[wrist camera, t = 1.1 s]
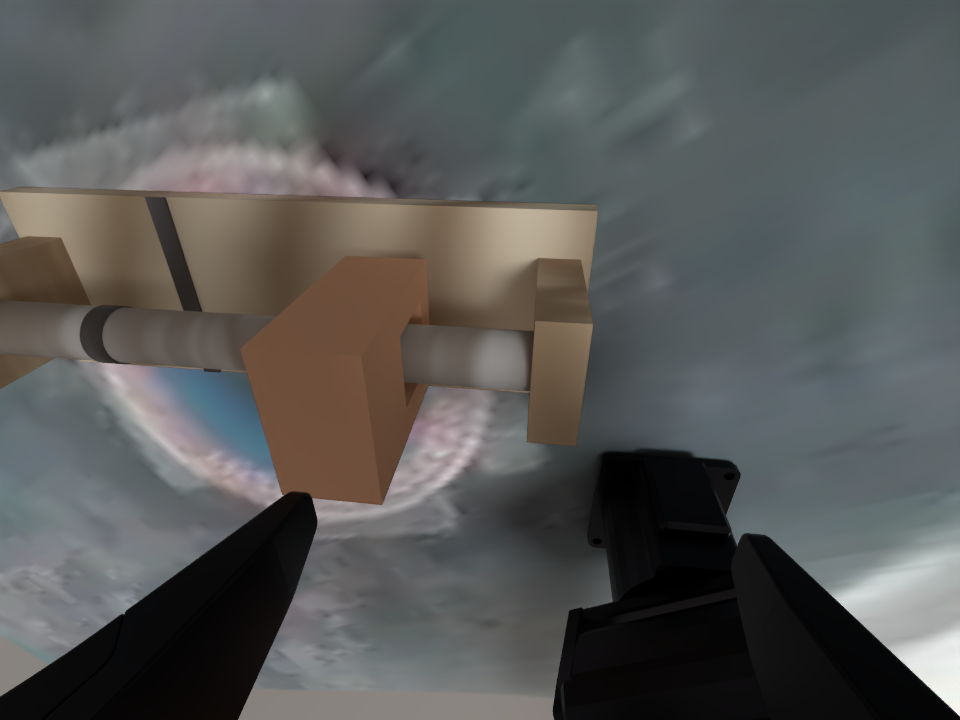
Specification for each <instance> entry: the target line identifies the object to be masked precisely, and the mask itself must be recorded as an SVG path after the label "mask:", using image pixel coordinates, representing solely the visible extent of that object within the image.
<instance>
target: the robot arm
mask: <svg viewBox="0 0 960 720" xmlns="http://www.w3.org/2000/svg"><path fill="white" fill-rule="evenodd" d="M611 462H613V463H614V464H611V465H610V464H608V463H611ZM728 472H731V473H729V474H726V473H728ZM740 475H741V474H740V472H739V470H738V468H737V466H736V465H735V464H733V463H727V462H715V461H703V460H691V459H679V458H667V457H654V456H642V455H630V454H618V453H607V454H605V455H603V456H602V457H601V460H600V465H599V471H598V476H597V482H596V488H595V493H594V499H593V505H592V511H591V516H590V522H589V528H588V533H587V537H588V543H589V545H591V546H592V547H597V548H606V552H607V560H608V568H609V576H610V583H611V591H612V599H613V602H611V603H607V604H603V605H599V606H595V607H591V608H586V609H583V608H577V609H573V610H570V611H569V615H568V621H567V626H566V632H565V638H564V644H563V649H562V655H561V661H560V666H559V672H558V678H557V684H556V690H555V698H554V705H553V716H554V720H960V716H959V715H958V714H957V713H956V712H955V711H953V710H952V709H951V708H950V707H949V706H948V705H947V704H946V703H945V702H944V701H943V700H942V699H941V698H940V697H939V696H938V695H936V694H935V693H934V692H933V691H932V690H931V689H930V688H929V687H928V686H927V685H926V684H925V683H924V682H923V681H922V680H921V679H919V678H918V677H917V676H916V675H915V674H914V673H913V672H912V671H911V670H910V669H909V668H908V667H907V666H906V665H905V664H904V663H902V662H901V661H900V660H899V659H898V658H897V657H896V656H895V655H894V654H893V653H892V652H891V651H890V650H889V649H888V648H887V647H885V646H884V645H883V644H882V643H881V642H880V641H879V640H878V639H877V638H876V637H875V636H874V635H873V634H872V633H871V632H870V631H868V630H867V629H866V628H865V627H864V626H863V625H862V624H861V623H860V622H859V621H858V620H857V619H856V618H855V617H854V616H853V615H851V614H850V613H849V612H848V611H847V610H846V609H845V608H844V607H843V606H842V605H841V604H840V603H839V602H838V601H837V600H836V599H834V598H833V597H832V596H831V595H830V594H829V593H828V592H827V591H826V590H825V589H824V588H823V587H822V586H821V585H820V584H819V583H817V582H816V581H815V580H814V579H813V578H812V577H811V576H810V575H809V574H808V573H807V572H806V571H805V570H804V569H803V568H802V567H800V566H799V565H798V564H797V563H796V562H795V561H794V560H793V559H792V558H791V557H790V556H789V555H788V554H787V553H786V552H785V551H783V550H782V549H781V548H780V547H779V546H778V545H777V544H776V543H775V542H774V541H773V540H772V539H771V538H769V537H768V536H766V535H761V534H750V533H746V534H743V535H742V536H741V538H740V541H739V543H738V546H737V544H736V542H735V539H734V537H733V534H732V532H731V527H730V525H729V522H728V520H727V517H726V513H727V511H728V508H729V505H730V503H731V500H732V498H733V495H734V492H735V490H736V487H737V484H738V482H739V479H740ZM316 528H317V516H316V512H315V508H314V504H313V500H312V497H311V495H310V494H309V493H307V492H299V491H291V492H289V493H287V494H285V495H284V496H283V497H281V498H280V499H279V500H277V501H276V502H274V503H273V504H272V505H270V506H269V507H268V508H266V509H265V510H264V511H262V512H261V513H259V514H258V515H257V516H255V517H254V518H253V519H251V520H250V521H248V522H247V523H246V524H244V525H243V526H242V527H240V528H239V529H237V530H236V531H235V532H233V533H232V534H231V535H229V536H228V537H227V538H225V539H224V540H222V541H221V542H220V543H218V544H217V545H216V546H214V547H213V548H211V549H210V550H209V551H207V552H206V553H205V554H203V555H202V556H200V557H199V558H198V559H196V560H195V561H194V562H192V563H191V564H190V565H188V566H187V567H185V568H184V569H183V570H181V571H180V572H179V573H177V574H176V575H174V576H173V577H172V578H170V579H169V580H168V581H166V582H165V583H163V584H162V585H161V586H159V587H158V588H157V589H155V590H154V591H153V592H151V593H150V594H148V595H147V596H146V597H144V598H143V599H142V600H140V601H139V602H137V603H136V604H135V605H133V606H132V607H131V608H129V609H128V610H127V611H126V612H125V615H124V614H121V615H119V616H118V617H117V618H115V619H114V620H113V621H111V622H110V623H108V624H107V625H106V626H104V627H103V628H102V629H100V630H99V631H97V632H96V633H95V634H93V635H92V636H90V637H89V638H87V639H86V640H85V641H83V642H82V643H80V644H79V645H78V646H76V647H75V648H73V649H72V650H70V651H69V652H68V653H66V654H65V655H63V656H62V657H60V658H59V659H57V660H56V661H54V662H53V663H51V664H50V665H48V666H47V667H45V668H44V669H42V670H41V671H39V672H38V673H36V674H34V675H33V676H32V677H30V678H28V679H27V680H25V681H24V682H22V683H21V684H19V685H18V686H16V687H14V688H13V689H12V690H10V691H8V692H7V693H5V694H4V695H2V696H0V720H238V718H239V716H240V714H241V711H242V710H243V707H244V705H245V703H246V701H247V699H248V696H249V694H250V692H251V690H252V688H253V685H254V683H255V681H256V679H257V677H258V674H259V672H260V670H261V668H262V666H263V664H264V661H265V659H266V657H267V655H268V653H269V650H270V648H271V646H272V644H273V642H274V639H275V637H276V635H277V633H278V631H279V628H280V626H281V624H282V622H283V620H284V617H285V615H286V613H287V611H288V609H289V606H290V604H291V602H292V599H293V596H294V594H295V591H296V588H297V585H298V582H299V579H300V576H301V573H302V571H303V568H304V565H305V562H306V559H307V556H308V553H309V550H310V547H311V544H312V541H313V538H314V535H315V532H316ZM596 538H597V539H596Z"/></svg>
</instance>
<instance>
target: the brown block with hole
mask: <svg viewBox="0 0 960 720" xmlns="http://www.w3.org/2000/svg"><path fill="white" fill-rule="evenodd" d="M407 324H421V325H430V322H429V304H428V285H427V267H426V259H407V258H384V257H361V256H345V257H344V258H342V259H341V260H340V261H339V262H338V263H337V264H336V265H334V266H333V267H332V268H331V269H330V270H329V271H328V272H327V273H325V274H324V275H323V276H322V277H321V278H320V279H319V280H317V281H316V282H315V283H314V284H313V285H312V286H311V287H310V288H308V289H307V290H306V291H305V292H304V293H303V294H302V295H300V296H299V297H298V298H297V299H296V300H295V301H294V302H292V303H291V304H290V305H289V306H288V307H287V308H286V309H285V310H283V311H282V312H281V313H280V314H279V315H278V316H277V317H275V318H274V319H273V320H272V321H271V322H270V323H269V324H268V325H266V326H265V327H264V328H263V329H262V330H261V331H260V332H258V333H257V334H256V335H255V336H254V337H253V338H252V339H251V340H249V341H248V342H247V343H246V344H245V345H244V346H243V347H241V348H240V350H241V353H242V357H243V360H244V364H245V367H246V371H247V374H248V378H249V381H250V385H251V388H252V392H253V395H254V399H255V402H256V405H257V409H258V412H259V416H260V419H261V423H262V426H263V430H264V433H265V437H266V440H267V444H268V447H269V451H270V454H271V457H272V461H273V464H274V468H275V471H276V475H277V478H278V482H279V485H280V489H281V492H282V495H285V494H287V493H289V492H291V491H299V492H307V493H309V494H310V495H311V497H312V498H317V499H327V500H337V501H347V502H358V503H368V504H378V505H382V504H383V502H384V499H385V496H386V494H387V491H388V489H389V486H390V483H391V481H392V478H393V476H394V473H395V471H396V468H397V465H398V463H399V460H400V458H401V455H402V452H403V450H404V447H405V445H406V442H407V439H408V437H409V434H410V432H411V429H412V426H413V424H414V421H415V419H416V416H417V413H418V411H419V408H420V406H421V403H422V400H423V398H424V395H425V393H426V390H427V388H428V385H429V384H418V383H404V375H403V364H402V354H401V343H400V336H401V334H402V332H403V331H404V329H405V327H406V325H407Z"/></svg>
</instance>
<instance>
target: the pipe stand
mask: <svg viewBox="0 0 960 720" xmlns="http://www.w3.org/2000/svg"><path fill="white" fill-rule="evenodd" d="M0 199H1V201H2V203H3V205H4V207H5V209H6V211H7V213H8V215H9V217H10V219H11V221H12V223H13V225H14V227H15V229H16V231H17V233H18V235H19V237H20V238H19V239H16V240H13V241H9V242H6V243H3V244H0V389H1V388H3V387H5V386H6V385H8V384H10V383H12V382H13V381H15V380H17V379H19V378H21V377H22V376H24V375H26V374H28V373H29V372H31V371H33V370H35V369H36V368H38V367H40V366H42V365H43V364H45V363H47V362H49V361H50V360H52V359H54V358H65V359H79V360H80V361H87V362H101V363H115V364H129V365H143V366H157V367H171V368H186V369H200V370H204V371H208V372H221V371H228V372H242V373H247V371H246V367H245V364H244V360H243V357H242V353H241V350H240V348H241V347H243V346H244V345H245V344H246V343H247V342H248V341H249V340H251V339H252V338H253V337H254V336H255V335H256V334H257V333H258V332H260V331H261V330H262V329H263V328H264V327H265V326H266V325H268V324H269V323H270V322H271V321H272V320H273V319H274V318H275V317H277V316H278V315H279V314H280V313H281V312H282V311H283V310H285V309H286V308H287V307H288V306H289V305H290V304H291V303H292V302H294V301H295V300H296V299H297V298H298V297H299V296H300V295H302V294H303V293H304V292H305V291H306V290H307V289H308V288H310V287H311V286H312V285H313V284H314V283H315V282H316V281H317V280H319V279H320V278H321V277H322V276H323V275H324V274H325V273H327V272H328V271H329V270H330V269H331V268H332V267H333V266H334V265H336V264H337V263H338V262H339V261H340V260H341V259H342V258H344V257H345V256H361V257H384V258H407V259H426V267H427V285H428V304H429V322H430V325H421V324H407V325H406V327H405V329H404V331H403V332H402V334H401V336H400V343H401V354H402V364H403V375H404V383H418V384H429V385H428V386H439V387H453V388H467V389H481V390H495V391H509V392H523V393H529V411H528V429H527V442H530V443H542V444H555V445H567V446H576V445H577V438H578V430H579V423H580V416H581V409H582V402H583V394H584V387H585V380H586V373H587V366H588V358H589V351H590V344H591V337H592V330H593V320H592V315H591V310H590V304H589V299H588V287H589V279H590V271H591V263H592V255H593V247H594V240H595V232H596V224H597V216H598V210H597V207H596V205H586V204H553V203H521V202H489V201H457V200H424V199H392V198H360V197H327V196H295V195H263V194H231V193H198V192H166V191H134V190H101V189H69V188H37V187H18V188H13V189H8V190H3V191H0Z"/></svg>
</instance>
